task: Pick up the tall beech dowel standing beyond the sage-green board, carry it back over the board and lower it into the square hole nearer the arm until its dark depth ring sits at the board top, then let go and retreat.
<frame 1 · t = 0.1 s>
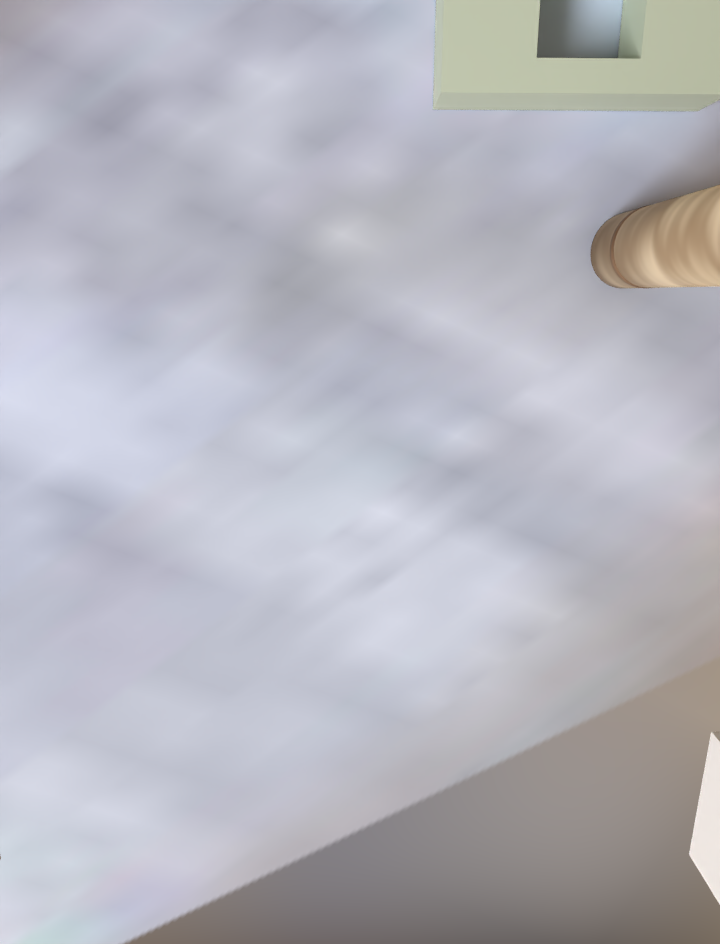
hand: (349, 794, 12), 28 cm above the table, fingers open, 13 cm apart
peg: (626, 250, 36), on the table
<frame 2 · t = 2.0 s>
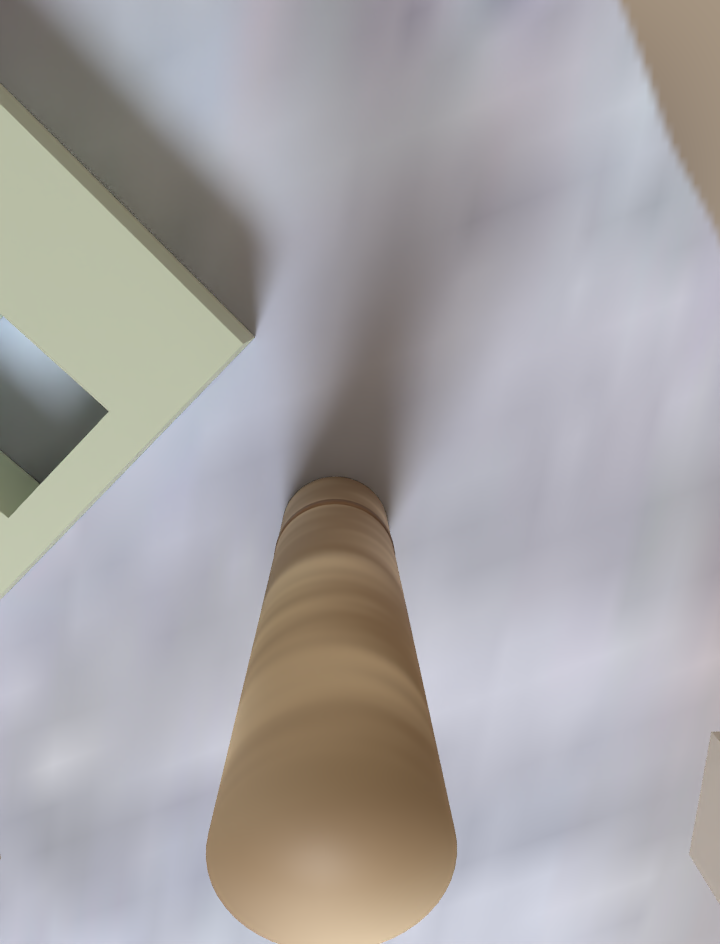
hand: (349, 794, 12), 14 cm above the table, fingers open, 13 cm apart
peg: (335, 526, 25), on the table
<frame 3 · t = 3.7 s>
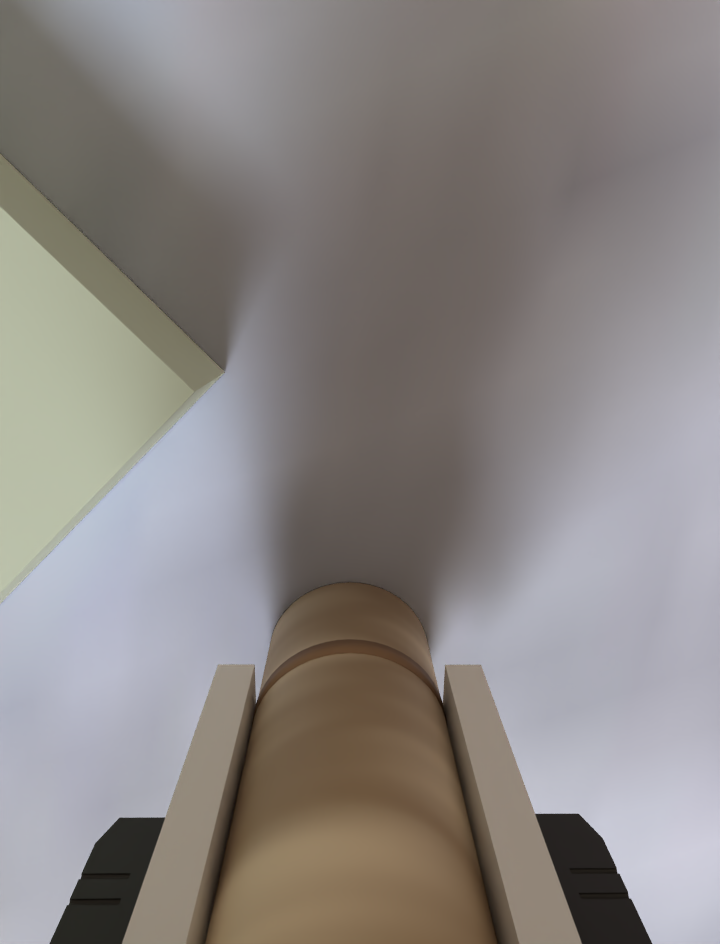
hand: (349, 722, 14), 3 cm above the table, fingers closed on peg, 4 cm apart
peg: (348, 655, 16), on the table, touching gripper
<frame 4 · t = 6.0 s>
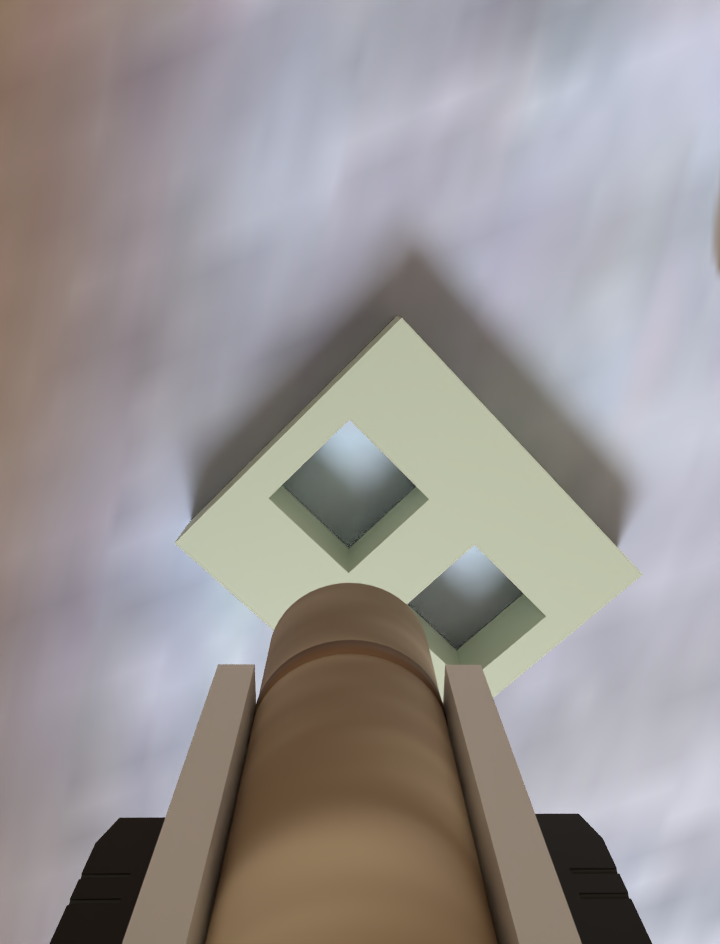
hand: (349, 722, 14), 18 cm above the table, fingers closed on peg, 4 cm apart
board: (405, 535, 32), on the table
peg: (349, 655, 16), point 16 cm above the table, touching gripper
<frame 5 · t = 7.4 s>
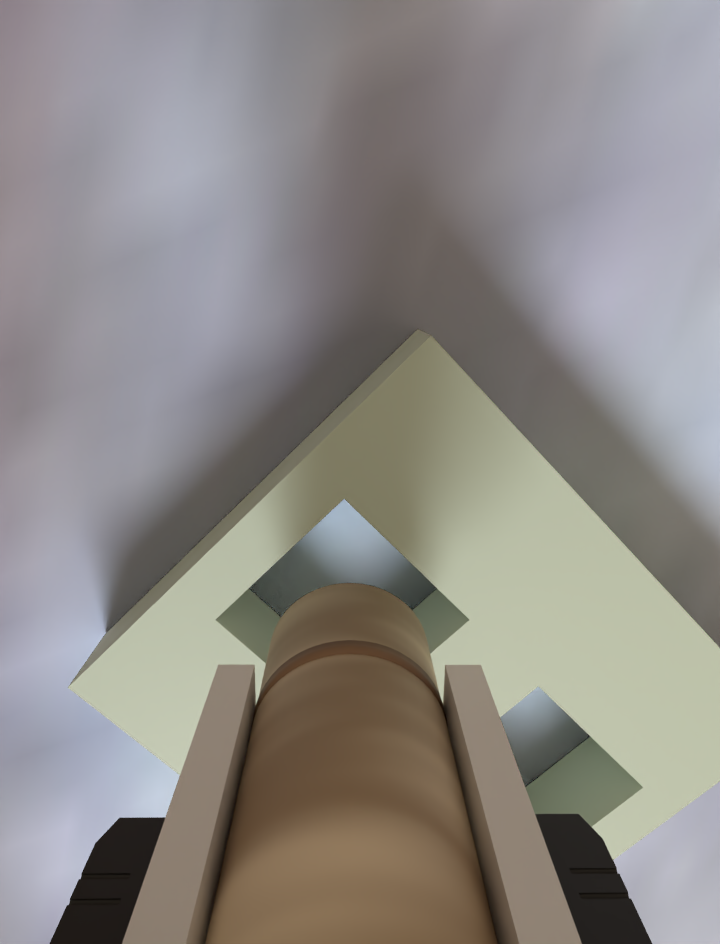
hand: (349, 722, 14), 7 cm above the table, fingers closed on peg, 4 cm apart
board: (426, 652, 22), on the table
peg: (349, 656, 16), point 5 cm above the table, touching gripper
when the fingers open (4 cm above the table, at t = 8.2 s): peg drops 2 cm, resting in board.
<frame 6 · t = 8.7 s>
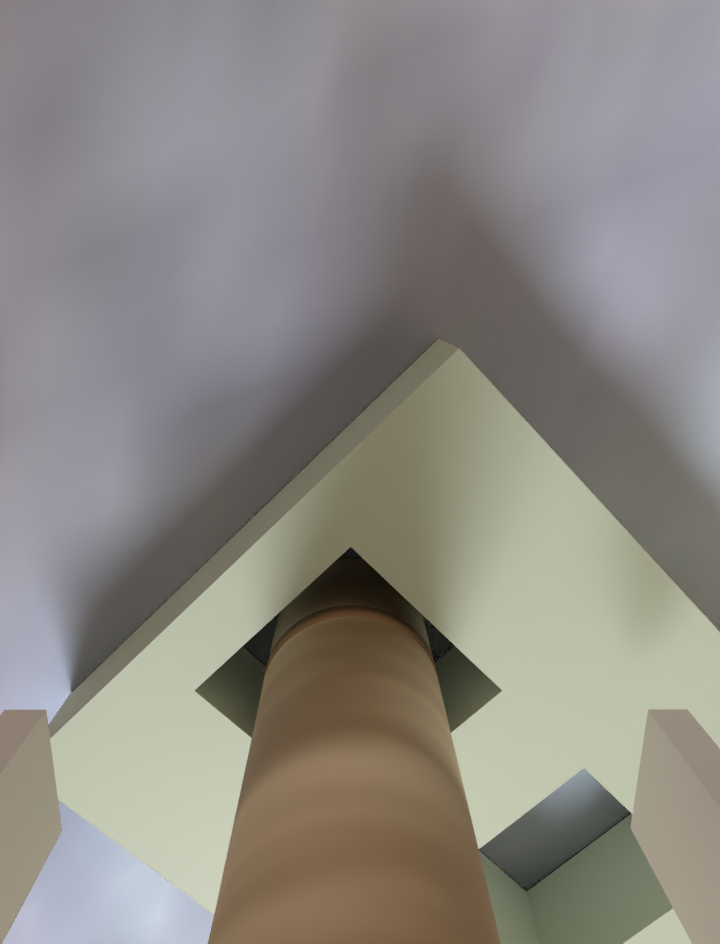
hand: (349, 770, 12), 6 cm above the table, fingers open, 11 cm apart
board: (446, 715, 19), on the table
peg: (350, 625, 18), resting in board
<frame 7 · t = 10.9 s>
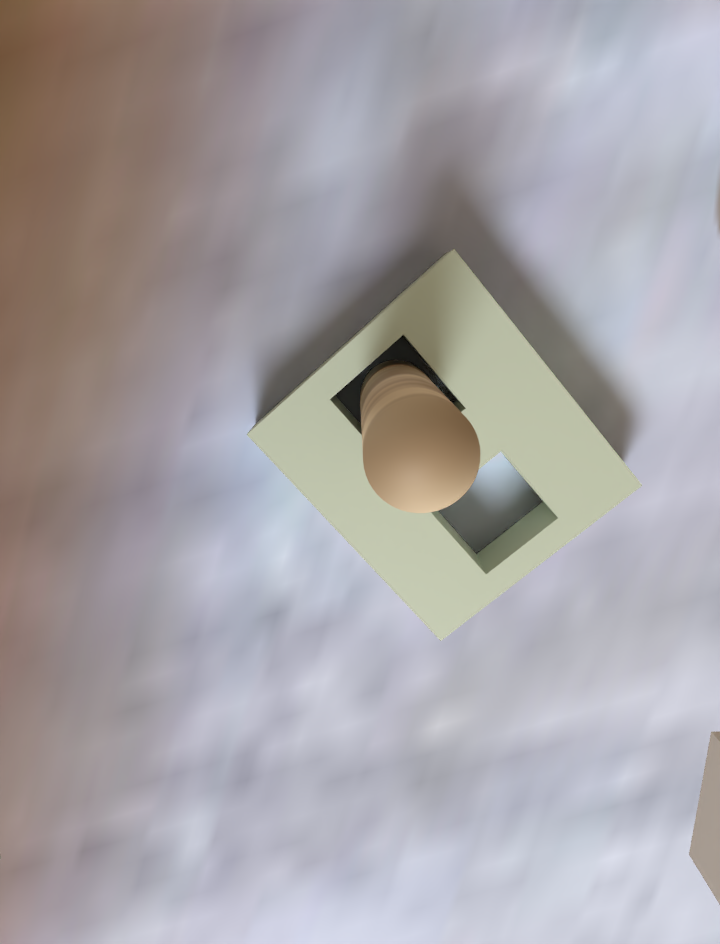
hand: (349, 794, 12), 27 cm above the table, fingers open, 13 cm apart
board: (439, 447, 37), on the table
peg: (395, 395, 37), resting in board
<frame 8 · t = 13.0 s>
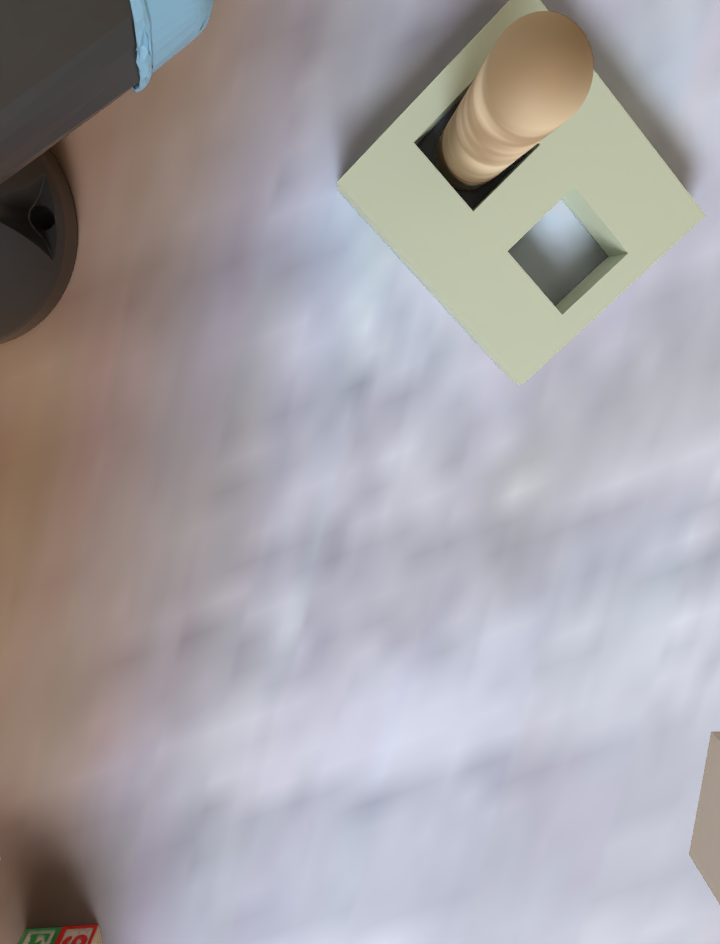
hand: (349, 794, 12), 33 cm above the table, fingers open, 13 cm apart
board: (510, 205, 40), on the table
peg: (468, 154, 39), resting in board
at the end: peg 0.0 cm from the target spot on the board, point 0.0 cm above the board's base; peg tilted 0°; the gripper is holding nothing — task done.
